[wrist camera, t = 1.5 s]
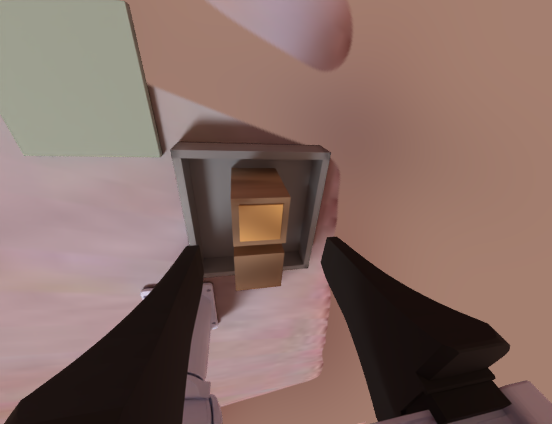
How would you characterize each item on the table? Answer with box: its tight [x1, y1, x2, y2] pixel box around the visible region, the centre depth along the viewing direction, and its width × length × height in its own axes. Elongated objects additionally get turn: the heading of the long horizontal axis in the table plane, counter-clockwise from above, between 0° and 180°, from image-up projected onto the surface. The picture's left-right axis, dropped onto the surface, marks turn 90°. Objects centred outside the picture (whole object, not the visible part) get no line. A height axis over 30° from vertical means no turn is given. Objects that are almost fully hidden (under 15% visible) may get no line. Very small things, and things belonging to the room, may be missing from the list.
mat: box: [0, 0, 162, 157], centre depth 13 cm, size 9×9×1 cm
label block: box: [231, 168, 291, 247], centre depth 17 cm, size 4×4×6 cm
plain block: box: [234, 243, 284, 291], centre depth 20 cm, size 4×4×6 cm
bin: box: [170, 142, 331, 278], centre depth 20 cm, size 13×12×2 cm
